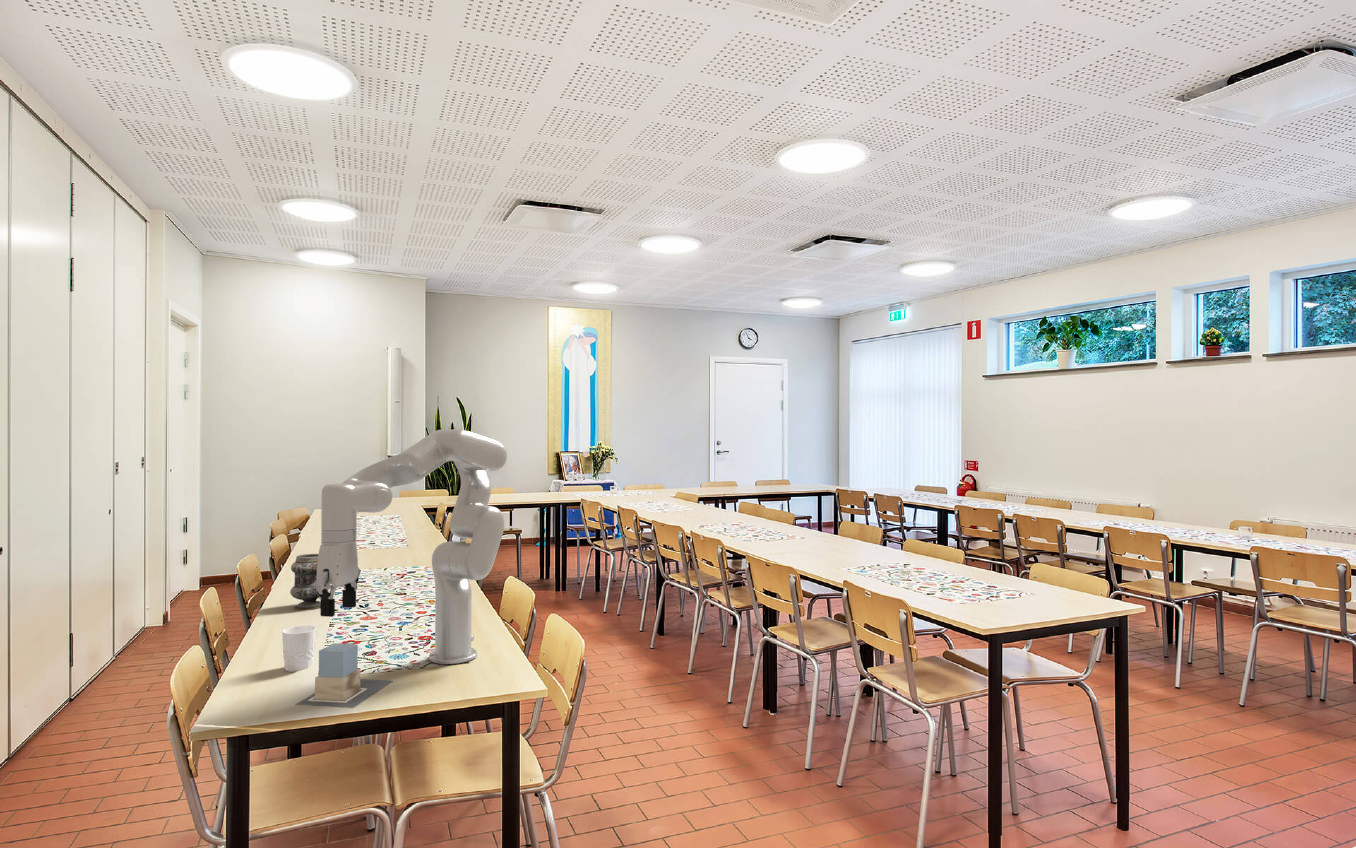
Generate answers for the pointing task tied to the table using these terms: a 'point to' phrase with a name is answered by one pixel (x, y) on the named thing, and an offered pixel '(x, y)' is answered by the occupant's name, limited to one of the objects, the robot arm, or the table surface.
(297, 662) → the white cup
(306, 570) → the apothecary jar
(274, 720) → the table surface
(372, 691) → the mat
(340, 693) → the base block
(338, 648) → the blue block
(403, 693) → the table surface
